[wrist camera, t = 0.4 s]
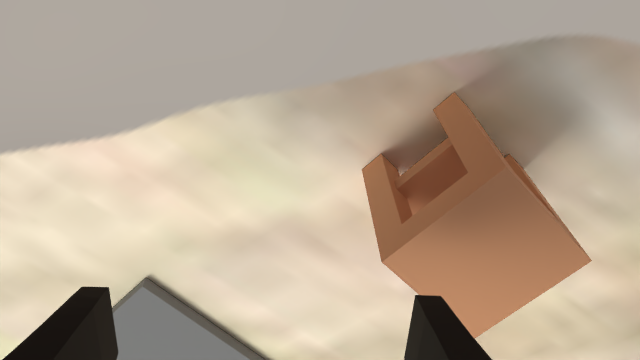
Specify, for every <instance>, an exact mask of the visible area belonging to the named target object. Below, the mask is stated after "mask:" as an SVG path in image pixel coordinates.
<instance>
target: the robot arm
mask: <svg viewBox="0 0 640 360" xmlns="http://www.w3.org/2000/svg"><path fill="white" fill-rule="evenodd" d="M117 356H118V346H117V339H116V332H115V326H114V319H113V312H112V306H111V299H110V292H109V287H81V288H80V289H79V290H78V291H77V292H76V293H75V294H73V295H72V296H71V297H70V298H69V299H68V300H67V301H66V302H65V303H64V304H63V305H62V306H61V307H60V308H59V309H58V310H56V311H55V312H54V313H53V314H52V315H51V316H50V317H49V318H48V319H47V320H46V321H45V322H44V323H43V324H42V325H41V326H39V327H38V328H37V329H36V330H35V331H34V332H33V333H32V334H31V335H30V336H28V337H27V338H26V339H25V340H24V341H23V342H22V343H21V344H20V345H19V346H17V347H16V348H15V349H14V350H13V351H12V352H11V353H10V354H8V355H7V356H6V357H5V358H4V359H2V360H117ZM404 359H405V360H492V359H491V358H490V357H489V356H488V354H487V353H486V352H485V351H484V350H483V349H482V347H481V346H480V345H479V344H478V343H477V341H476V340H475V339H474V338H473V336H472V335H471V334H470V333H469V331H468V330H467V329H466V327H465V326H464V325H463V324H462V322H461V321H460V320H459V318H458V317H457V316H456V315H455V313H454V312H453V311H452V309H451V308H450V307H449V305H448V304H447V303H446V301H445V300H444V299H443V298H442V297H441V296H433V295H415V300H414V306H413V312H412V317H411V323H410V328H409V334H408V340H407V345H406V351H405V357H404Z"/></svg>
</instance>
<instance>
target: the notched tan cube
mask: <svg viewBox="0 0 640 360" xmlns="http://www.w3.org/2000/svg"><path fill="white" fill-rule="evenodd" d="M433 111H434V112H435V114H436V116H437V118H438V119H439V121H440V123H441V125H442V127H443V128H444V130H445V132H446V134H447V136H448V138H447V139H445V140H444V141H443V142H442V143H440V144H439V145H438V146H437V147H436V148H434V149H433V150H432V151H431V152H429V153H428V154H427V155H426V156H424V157H423V158H422V159H421V160H420V161H418V162H417V163H416V164H415V165H413V166H412V167H411V168H410V169H408V170H407V171H406V172H405V173H404V174H402V175H401V176H399V173H398V170H397V169H396V168H395V167H394V166H393V165H392V164H391V163H390V162H389V161H388V160H387V159H386V158H385V157H384V156H383V155H382V154H380V155H379V156H378V157H376V158H375V159H374V160H373V161H372V162H371V163H369V164H368V165H367V166H366V167H365V168H363V169H362V172H363V177H364V182H365V186H366V191H367V196H368V200H369V205H370V210H371V214H372V219H373V224H374V228H375V233H376V238H377V242H378V247H379V252H380V256H381V261H382V263H383V264H384V265H386V266H387V267H388V268H389V269H390V270H391V271H393V272H394V273H395V274H396V275H397V276H398V277H399V278H401V279H402V280H403V281H404V282H405V283H406V284H408V285H409V286H410V287H411V288H412V289H413V290H414V291H416V292H417V293H418V294H419V295H433V296H441V297H442V298H443V299H444V300H445V301H446V303H447V304H448V305H449V307H450V308H451V309H452V311H453V312H454V313H455V315H456V316H457V317H458V318H459V320H460V321H461V322H462V324H463V325H464V326H465V327H466V329H467V330H468V331H469V333H470V334H471V335H472V336H473V338H476V337H477V336H479V335H480V334H482V333H483V332H485V331H486V330H488V329H489V328H491V327H492V326H494V325H496V324H497V323H499V322H500V321H502V320H503V319H505V318H506V317H508V316H509V315H511V314H512V313H514V312H515V311H517V310H518V309H520V308H521V307H523V306H524V305H526V304H527V303H529V302H530V301H532V300H533V299H535V298H536V297H538V296H539V295H541V294H542V293H544V292H545V291H547V290H548V289H550V288H552V287H553V286H555V285H556V284H558V283H559V282H561V281H562V280H564V279H565V278H567V277H568V276H570V275H571V274H573V273H574V272H576V271H577V270H579V269H580V268H582V267H583V266H585V265H586V264H588V263H589V262H591V261H592V260H591V259H590V258H589V256H588V255H587V254H586V252H585V251H584V250H583V248H582V247H581V246H580V244H579V243H578V242H577V240H576V239H575V238H574V236H573V235H572V234H571V232H570V231H569V230H568V228H567V227H566V226H565V224H564V223H563V222H562V220H561V219H560V218H559V216H558V215H557V214H556V212H555V211H554V210H553V208H552V207H551V206H550V204H549V203H548V202H547V200H546V199H545V198H544V196H543V195H542V194H541V192H540V191H539V189H538V188H537V187H536V185H535V184H534V183H533V181H532V180H531V179H530V177H529V176H528V175H527V173H526V172H525V171H524V169H523V168H522V167H521V166H520V165H519V164H518V163H517V162H516V161H515V159H514V158H513V157H512V156H511V155H510V154H509V155H508V156H506V157H505V158H504V157H503V155H502V154H501V153H500V151H499V150H498V148H497V147H496V146H495V144H494V143H493V141H492V140H491V138H490V137H489V136H488V134H487V133H486V131H485V130H484V129H483V127H482V126H481V124H480V123H479V122H478V120H477V119H476V117H475V116H474V115H473V113H472V112H471V110H470V109H469V108H468V107H467V106H466V105H465V104H464V102H463V101H462V100H461V99H460V98H459V97H458V96H457V95H456V94H455V92H454V93H453V94H451V95H450V96H449V97H448V98H447V99H446V100H444V101H443V102H442V103H441V104H440V105H438V106H437V107H436V108H435V109H434V110H433Z"/></svg>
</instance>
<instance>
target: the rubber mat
mask: <svg viewBox="0 0 640 360" xmlns="http://www.w3.org/2000/svg"><path fill="white" fill-rule="evenodd" d="M112 312H113V319H114V326H115V332H116V339H117V346H118V356H117V360H265V359H263V358H262V357H260V356H259V355H257V354H256V353H254V352H253V351H252V350H250V349H249V348H247V347H246V346H244V345H243V344H241V343H240V342H239V341H237V340H236V339H234V338H233V337H231V336H230V335H228V334H227V333H225V332H224V331H223V330H221V329H220V328H218V327H217V326H215V325H214V324H212V323H211V322H210V321H208V320H207V319H205V318H204V317H202V316H201V315H199V314H198V313H196V312H195V311H194V310H192V309H191V308H189V307H188V306H186V305H185V304H183V303H182V302H181V301H179V300H178V299H176V298H175V297H173V296H172V295H170V294H169V293H167V292H166V291H165V290H163V289H162V288H160V287H159V286H157V285H156V284H154V283H153V282H151V281H150V280H149V279H147V278H145V279H144V280H143V281H142V282H141V283H139V284H138V285H137V286H136V287H135V288H134V289H133V290H132V291H131V292H130V293H128V294H127V295H126V296H125V297H124V298H123V299H122V300H121V301H120V302H118V303H117V304H116V305H115V306H114V307H113V308H112Z"/></svg>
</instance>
